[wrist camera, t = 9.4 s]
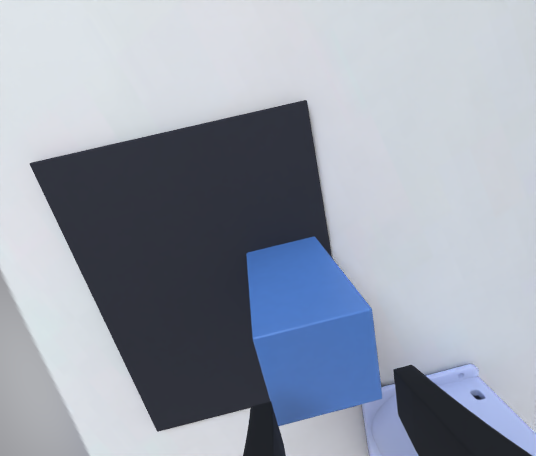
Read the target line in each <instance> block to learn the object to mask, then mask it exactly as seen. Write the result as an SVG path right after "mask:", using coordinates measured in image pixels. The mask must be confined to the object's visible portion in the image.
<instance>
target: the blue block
mask: <svg viewBox="0 0 536 456" xmlns="http://www.w3.org/2000/svg"><path fill="white" fill-rule="evenodd" d="M246 256H247V270H248V283H249V297H250V310H251V324H252V337H253V342H254V346H255V349H256V353H257V356H258V360H259V363H260V367H261V370H262V374H263V377H264V381H265V384H266V387H267V391H268V394H269V398H270V401H271V402H272V406H273V409H274V413H275V416H276V420H277V423H278V426H281V425H285V424H289V423H293V422H296V421H300V420H304V419H308V418H312V417H315V416H319V415H323V414H327V413H331V412H334V411H338V410H342V409H346V408H350V407H354V406H357V405H361V404H365V403H369V402H373V401H376V400H380V399H382V390H381V381H380V373H379V365H378V356H377V348H376V339H375V331H374V323H373V314H372V309H371V307H370V306H369V305H368V303H367V302H366V301H365V300H364V298H363V297H362V296H361V294H360V293H359V292H358V291H357V289H356V288H355V287H354V286H353V284H352V283H351V282H350V280H349V279H348V278H347V277H346V275H345V274H344V273H343V272H342V270H341V269H340V268H339V267H338V265H337V264H336V263H335V261H334V260H333V259H332V258H331V256H330V255H329V254H328V253H327V251H326V250H325V249H324V247H323V246H322V245H321V244H320V242H319V241H318V240H317V239H316V237H310V238H305V239H301V240H297V241H293V242H289V243H285V244H281V245H277V246H273V247H268V248H264V249H260V250H256V251H252V252H248V253H246Z"/></svg>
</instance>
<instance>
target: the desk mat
mask: <svg viewBox="0 0 536 456" xmlns="http://www.w3.org/2000/svg"><path fill="white" fill-rule="evenodd" d="M30 166H31V168H32V170H33V172H34V174H35V176H36V178H37V180H38V183H39V185H40V187H41V189H42V191H43V193H44V195H45V197H46V199H47V201H48V203H49V206H50V208H51V210H52V212H53V214H54V216H55V218H56V220H57V222H58V224H59V227H60V229H61V231H62V233H63V235H64V237H65V239H66V241H67V243H68V245H69V247H70V250H71V252H72V254H73V256H74V258H75V260H76V262H77V264H78V266H79V268H80V271H81V273H82V275H83V277H84V279H85V281H86V283H87V285H88V287H89V289H90V291H91V294H92V296H93V298H94V300H95V302H96V304H97V306H98V308H99V310H100V312H101V315H102V317H103V319H104V321H105V323H106V325H107V327H108V329H109V331H110V333H111V335H112V338H113V340H114V342H115V344H116V346H117V348H118V350H119V352H120V354H121V356H122V358H123V361H124V363H125V365H126V367H127V369H128V371H129V373H130V375H131V377H132V379H133V382H134V384H135V386H136V388H137V390H138V392H139V394H140V396H141V398H142V400H143V402H144V405H145V407H146V409H147V411H148V413H149V415H150V417H151V419H152V421H153V423H154V426H155V428H156V430H157V431H162V430H166V429H169V428H173V427H177V426H181V425H185V424H189V423H193V422H196V421H200V420H204V419H208V418H212V417H216V416H220V415H223V414H227V413H231V412H235V411H239V410H243V409H247V408H250V407H253V406H255V405H259V404H263V403H266V402H270V398H269V394H268V391H267V387H266V384H265V381H264V377H263V374H262V370H261V367H260V363H259V360H258V356H257V353H256V349H255V346H254V342H253V337H252V324H251V310H250V297H249V283H248V270H247V256H246V253H248V252H252V251H256V250H260V249H264V248H268V247H273V246H277V245H281V244H285V243H289V242H293V241H297V240H301V239H305V238H310V237H316V239H317V240H318V241H319V242H320V244H321V245H322V246H323V247H324V249H325V250H326V251H327V253H328V254H329V255H330V256H331V258H332V255H331V249H330V243H329V236H328V230H327V224H326V218H325V211H324V205H323V199H322V193H321V187H320V180H319V174H318V168H317V162H316V155H315V149H314V143H313V137H312V131H311V124H310V118H309V112H308V106H307V101H306V100H304V101H300V102H296V103H291V104H287V105H282V106H278V107H274V108H269V109H265V110H261V111H256V112H252V113H247V114H243V115H239V116H234V117H230V118H226V119H221V120H217V121H212V122H208V123H204V124H199V125H195V126H191V127H186V128H182V129H177V130H173V131H169V132H164V133H160V134H156V135H151V136H147V137H142V138H138V139H134V140H129V141H125V142H120V143H116V144H112V145H107V146H103V147H99V148H94V149H90V150H85V151H81V152H77V153H72V154H68V155H64V156H59V157H55V158H50V159H46V160H42V161H37V162H33V163H30Z"/></svg>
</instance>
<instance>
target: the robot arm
mask: <svg viewBox="0 0 536 456" xmlns="http://www.w3.org/2000/svg"><path fill="white" fill-rule="evenodd" d="M478 374H479V370H478V368H477V367H476V366H475V365H474V364H468V365H464V366H460V367H457V368H453V369H449V370H445V371H441V372H437V373H434V374H430V375H426V376H425V375H424V374H423V373H421V372H420V371H419V370H418V369H417V368H415V367H414V366H412V365H409V366H405V367H401V368H397V369H394V380H395V384H391V385H388V386H384V387H381V390H382V399H380V400H376V401H373V402H369V403H365V404H362V411H363V417H364V424H365V431H366V437H367V444H368V450H369V456H536V433H535V432H534V431H533V430H532V429H531V428H530V427H529V426H528V425H527V424H526V423H525V422H524V421H523V420H522V419H521V418H520V417H519V416H518V415H517V414H516V413H515V412H514V411H513V410H512V409H511V408H510V407H509V406H508V405H507V404H506V403H505V402H504V401H503V400H502V399H501V398H500V397H499V396H498V395H497V394H496V393H495V392H494V391H493V390H492V389H491V388H490V387H489V386H488V385H487V384H486V383H485V382H484V381H483V380H482V379H481V378H479V377H478ZM243 456H286V455H285V449H284V444H283V441H282V437H281V434H280V430H279V427H278V423H277V420H276V416H275V413H274V409H273V406H272V402H271V401H270V402H266V403H263V404H259V405H255V406H253V407H252V408H251V409H250V419H249V426H248V432H247V438H246V444H245V449H244V454H243Z"/></svg>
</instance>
